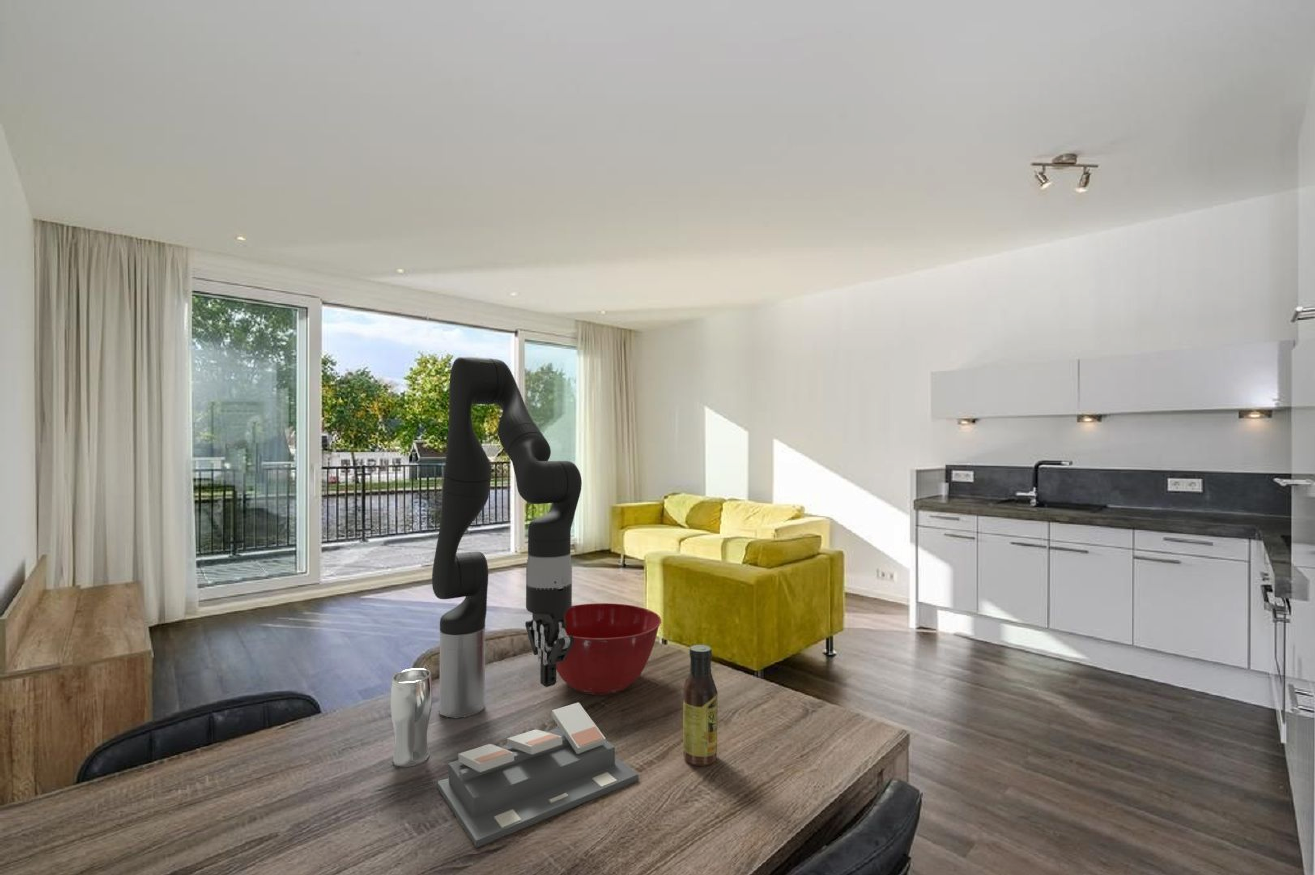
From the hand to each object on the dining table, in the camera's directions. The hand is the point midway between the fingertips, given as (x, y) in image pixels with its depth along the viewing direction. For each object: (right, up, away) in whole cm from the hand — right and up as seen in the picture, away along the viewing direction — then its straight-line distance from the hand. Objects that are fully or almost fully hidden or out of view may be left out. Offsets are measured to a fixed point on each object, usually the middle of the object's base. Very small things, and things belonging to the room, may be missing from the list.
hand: (548, 684), depth 99 cm
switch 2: (-3, -11, +2) cm, 11 cm away
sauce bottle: (+26, -17, +9) cm, 32 cm away
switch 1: (-10, -11, -3) cm, 15 cm away
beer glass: (-26, -17, +8) cm, 32 cm away
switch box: (-2, -17, +1) cm, 17 cm away
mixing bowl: (+5, -17, +42) cm, 45 cm away
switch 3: (+4, -11, +7) cm, 13 cm away
